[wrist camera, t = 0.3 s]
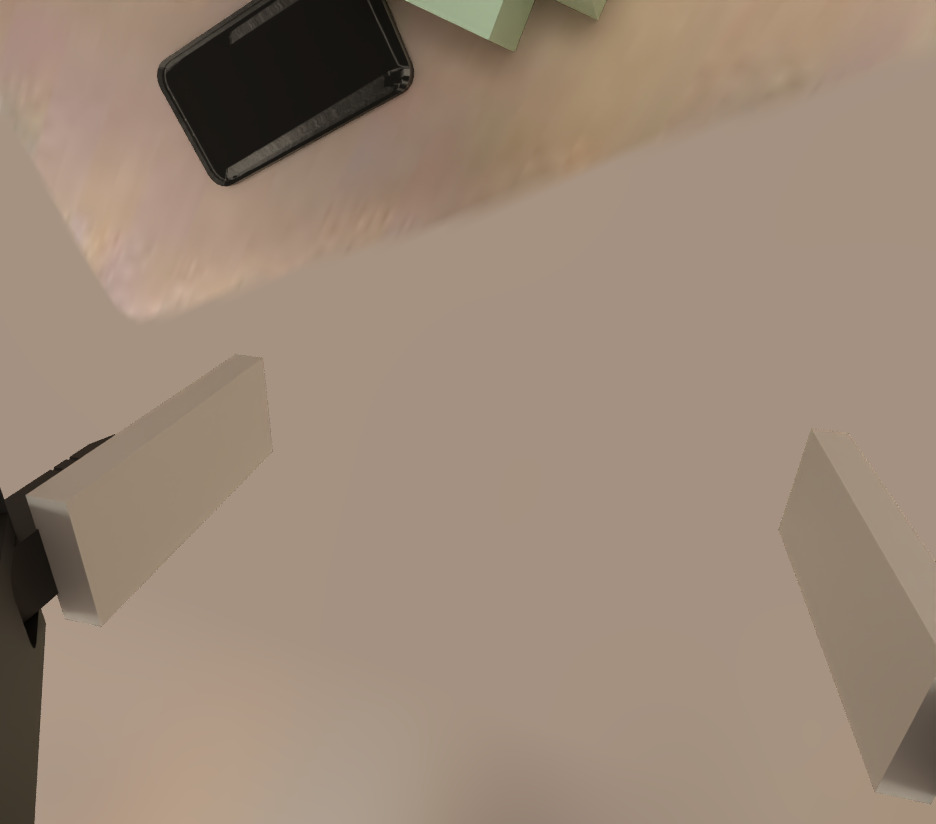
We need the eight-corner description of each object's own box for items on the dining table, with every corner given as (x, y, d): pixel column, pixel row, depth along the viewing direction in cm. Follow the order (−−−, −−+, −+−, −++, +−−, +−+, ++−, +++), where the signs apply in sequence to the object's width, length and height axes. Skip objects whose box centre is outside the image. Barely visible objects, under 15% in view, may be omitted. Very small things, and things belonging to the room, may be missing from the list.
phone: (416, 82, 36) (217, 192, 42) (422, 83, 37) (226, 190, 43) (352, -70, 34) (148, 67, 39) (359, -65, 35) (160, 68, 40)
